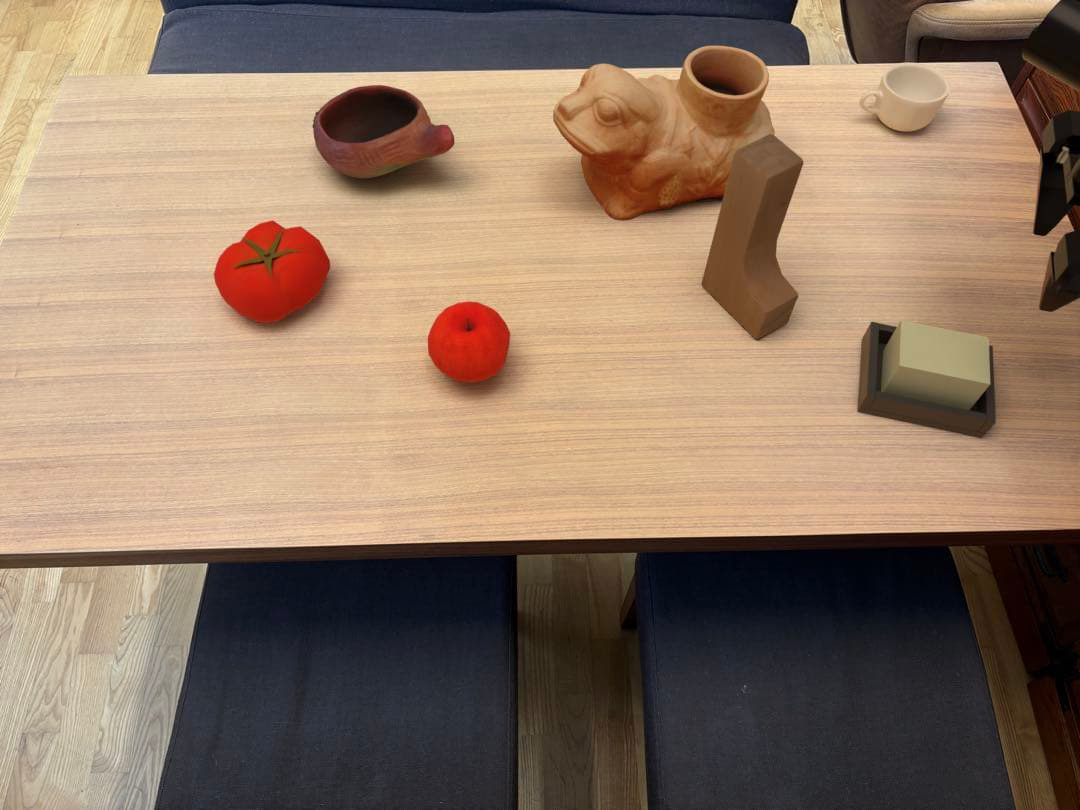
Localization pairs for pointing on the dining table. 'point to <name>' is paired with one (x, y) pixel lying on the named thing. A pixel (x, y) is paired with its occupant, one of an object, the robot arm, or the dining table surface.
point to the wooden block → (754, 237)
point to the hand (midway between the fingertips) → (1041, 270)
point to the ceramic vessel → (665, 129)
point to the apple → (469, 342)
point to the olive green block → (936, 365)
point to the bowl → (377, 131)
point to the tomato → (271, 271)
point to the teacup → (908, 96)
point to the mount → (913, 409)
